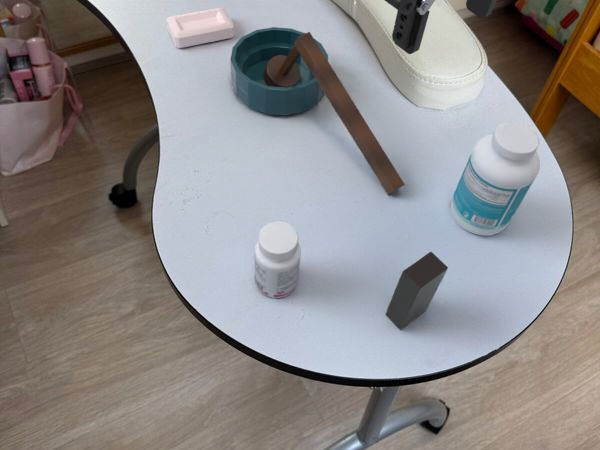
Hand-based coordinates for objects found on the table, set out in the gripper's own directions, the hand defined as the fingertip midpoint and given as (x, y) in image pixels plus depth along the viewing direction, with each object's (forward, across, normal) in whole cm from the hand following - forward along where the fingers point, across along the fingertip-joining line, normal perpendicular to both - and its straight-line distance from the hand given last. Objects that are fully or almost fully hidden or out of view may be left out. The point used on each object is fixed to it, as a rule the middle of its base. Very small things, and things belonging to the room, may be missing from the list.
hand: (442, 29), depth 47 cm
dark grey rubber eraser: (+28, -5, -10) cm, 30 cm away
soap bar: (+28, +2, +43) cm, 52 cm away
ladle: (+31, +5, +18) cm, 36 cm away
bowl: (+28, +5, +27) cm, 39 cm away
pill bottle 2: (+28, +12, -5) cm, 31 cm away
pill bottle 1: (+28, -14, +2) cm, 32 cm away
